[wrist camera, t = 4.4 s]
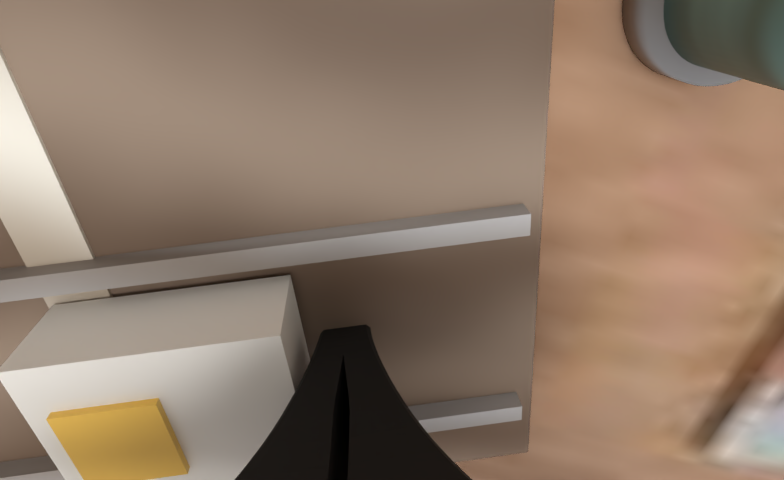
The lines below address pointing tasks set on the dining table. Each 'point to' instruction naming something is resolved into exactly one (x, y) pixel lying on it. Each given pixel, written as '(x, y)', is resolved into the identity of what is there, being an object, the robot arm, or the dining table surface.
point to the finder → (161, 380)
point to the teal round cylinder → (709, 39)
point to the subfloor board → (288, 181)
